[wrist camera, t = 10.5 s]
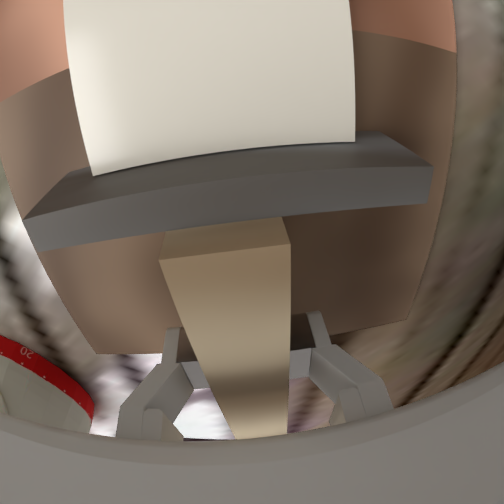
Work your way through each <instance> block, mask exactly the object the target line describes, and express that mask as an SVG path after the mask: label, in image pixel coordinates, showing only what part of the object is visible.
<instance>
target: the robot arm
mask: <svg viewBox="0 0 504 504" xmlns="http://www.w3.org/2000/svg"><path fill="white" fill-rule="evenodd" d="M302 377H309V378H310V379H311V380H312V381H313V382H314V383H315V384H316V385H317V386H318V387H319V388H320V389H321V390H322V391H323V392H324V393H325V394H326V395H327V396H328V397H329V398H330V399H331V400H332V401H333V402H334V403H335V406H334V409H333V412H332V414H331V417H330V420H329V423H330V426H328V427H323V428H318V429H313V430H308V431H302V432H296V433H290V434H283V435H276V436H268V437H259V438H249V439H236V440H220V441H183V435H182V434H181V433H180V432H179V431H178V429H177V428H176V427H175V426H174V425H173V422H174V421H175V419H176V418H177V416H178V414H179V413H180V411H181V410H182V408H183V407H184V405H185V403H186V402H187V400H188V399H189V397H190V396H191V394H192V392H193V391H194V390H193V389H201V388H210V386H209V384H208V382H207V380H206V377H205V375H204V373H203V371H202V369H201V366H200V364H199V362H198V360H197V357H196V355H195V353H194V350H193V348H192V346H191V343H190V341H189V339H188V336H187V334H186V331H185V329H184V327H172V328H167V330H166V334H165V341H164V347H163V354H162V362H161V364H157V365H156V366H155V367H154V369H153V370H152V371H151V372H150V373H149V374H148V375H147V377H146V378H145V379H144V380H143V381H142V382H141V383H140V385H139V386H138V387H137V388H136V389H135V390H134V391H133V392H132V394H131V395H130V396H129V397H128V398H127V399H126V400H125V402H124V403H123V404H122V405H121V406H120V412H119V418H118V424H117V431H116V437H109V436H101V435H94V434H88V433H82V432H76V431H71V430H65V429H61V428H56V427H51V426H47V425H43V424H39V423H35V422H31V421H28V420H24V419H21V418H17V417H14V416H11V415H7V414H4V413H1V412H0V504H504V362H502V363H500V364H498V365H496V366H494V367H493V368H491V369H489V370H487V371H485V372H483V373H481V374H479V375H477V376H475V377H473V378H471V379H469V380H467V381H465V382H462V383H460V384H458V385H456V386H453V387H451V388H449V389H447V390H444V391H442V392H439V393H437V394H434V395H432V396H429V397H427V398H424V399H421V400H419V401H416V402H413V403H410V404H408V405H405V406H402V407H399V408H396V409H394V408H393V406H392V403H391V400H390V398H389V395H388V392H387V390H386V387H385V384H384V382H383V379H382V378H380V377H379V376H378V375H376V374H375V373H374V372H372V371H371V370H370V369H368V368H367V367H366V366H364V365H363V364H362V363H360V362H359V361H357V360H356V359H355V358H353V357H352V356H351V355H349V354H348V353H347V352H345V351H344V350H343V349H341V348H340V347H339V346H337V345H336V344H334V345H332V344H331V341H330V338H329V335H328V332H327V329H326V326H325V323H324V320H323V317H322V314H321V312H320V311H313V312H306V313H299V314H293V315H291V322H290V367H289V379H294V378H302Z"/></svg>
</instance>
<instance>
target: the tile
mask: <svg viewBox="0 0 504 504" xmlns="http://www.w3.org/2000/svg"><path fill="white" fill-rule="evenodd" d="M63 9H64V25H65V36H66V46H67V55H68V62H69V69H70V76H71V82H72V88H73V94H74V99H75V104H76V109H77V114H78V119H79V123H80V128H81V132H82V136H83V140H84V144H85V148H86V152H87V156H88V160H89V163H90V167H91V171H92V174H93V176H96V175H100V174H104V173H108V172H112V171H117V170H121V169H126V168H130V167H135V166H140V165H144V164H149V163H155V162H160V161H165V160H171V159H176V158H182V157H188V156H195V155H201V154H208V153H215V152H223V151H230V150H239V149H247V148H257V147H267V146H279V145H292V144H307V143H328V142H355V74H354V53H353V39H352V26H351V16H350V7H349V0H63Z"/></svg>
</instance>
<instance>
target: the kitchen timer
mask: <svg viewBox="0 0 504 504" xmlns="http://www.w3.org/2000/svg"><path fill="white" fill-rule="evenodd" d="M0 412H1V413H4V414H7V415H11V416H14V417H17V418H21V419H24V420H28V421H31V422H35V423H39V424H43V425H47V426H51V427H56V428H61V429H65V430H71V431H76V432H82V433H88V434H89V431H90V428H91V424H92V419H93V414H94V403H93V401H92V399H91V397H90V395H89V394H88V393H87V392H86V391H85V390H84V389H83V388H82V387H81V386H80V385H79V384H78V383H77V382H76V381H75V380H74V379H72V378H71V377H70V376H69V375H67V374H66V373H65V372H64V371H62V370H61V369H60V368H58V367H57V366H55V365H54V364H52V363H51V362H49V361H48V360H46V359H45V358H43V357H42V356H40V355H39V354H37V353H35V352H33V351H31V350H30V349H28V348H26V347H24V346H22V345H21V344H19V343H17V342H15V341H12V340H10V339H8V338H5V337H3V336H1V335H0Z"/></svg>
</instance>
